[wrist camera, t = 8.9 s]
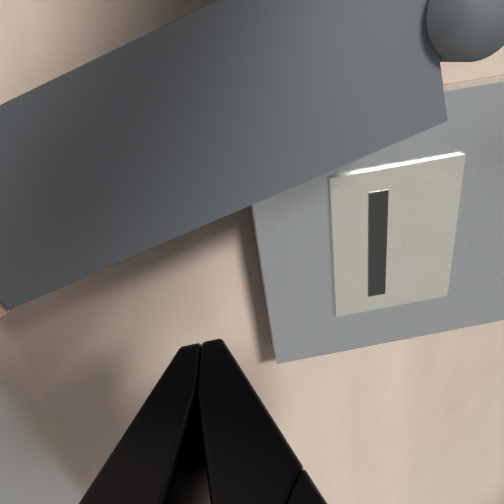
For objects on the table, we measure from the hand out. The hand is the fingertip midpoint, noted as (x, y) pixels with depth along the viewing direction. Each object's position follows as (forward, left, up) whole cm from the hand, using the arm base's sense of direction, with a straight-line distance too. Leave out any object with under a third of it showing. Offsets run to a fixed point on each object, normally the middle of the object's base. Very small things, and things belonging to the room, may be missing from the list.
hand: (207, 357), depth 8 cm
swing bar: (-3, 0, -10) cm, 10 cm away
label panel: (+3, +14, -10) cm, 17 cm away
